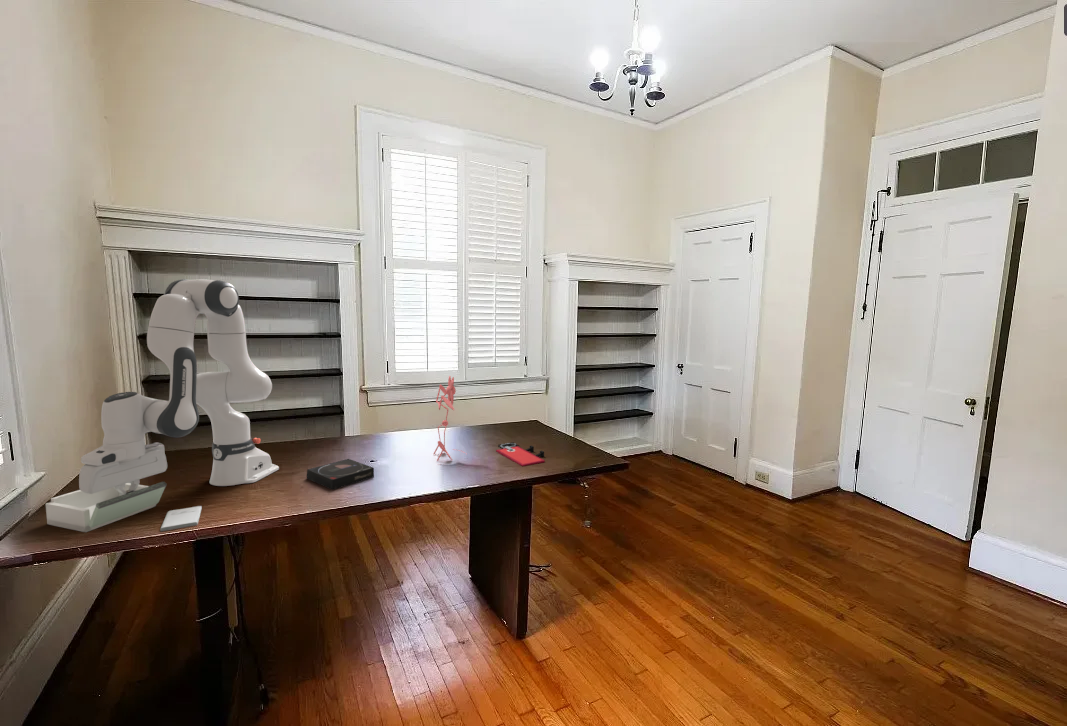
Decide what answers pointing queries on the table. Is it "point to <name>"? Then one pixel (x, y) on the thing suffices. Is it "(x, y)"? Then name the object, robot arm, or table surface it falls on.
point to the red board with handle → (520, 454)
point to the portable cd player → (340, 473)
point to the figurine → (450, 392)
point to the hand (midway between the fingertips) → (128, 497)
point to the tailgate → (126, 504)
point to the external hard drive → (181, 518)
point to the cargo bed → (82, 508)
